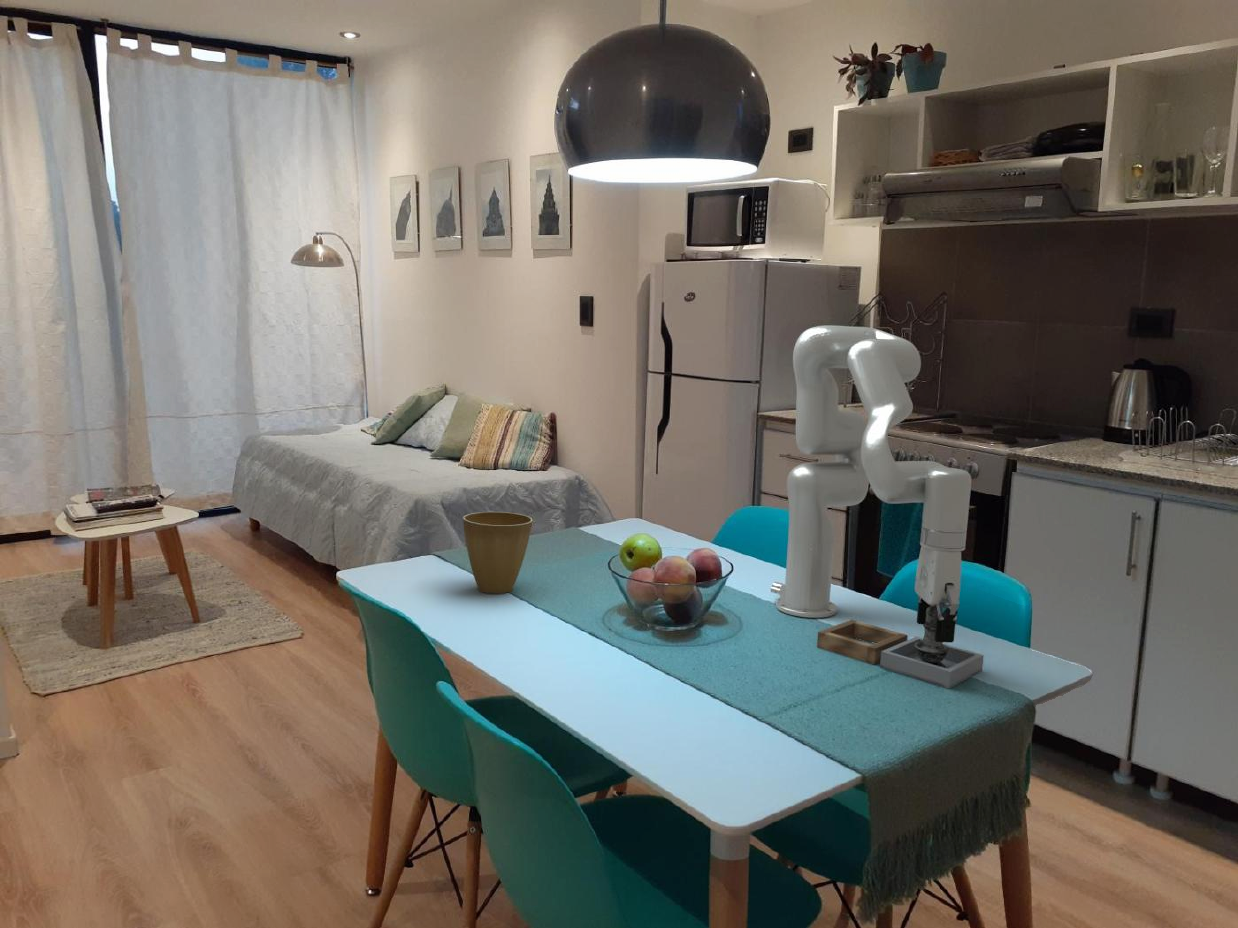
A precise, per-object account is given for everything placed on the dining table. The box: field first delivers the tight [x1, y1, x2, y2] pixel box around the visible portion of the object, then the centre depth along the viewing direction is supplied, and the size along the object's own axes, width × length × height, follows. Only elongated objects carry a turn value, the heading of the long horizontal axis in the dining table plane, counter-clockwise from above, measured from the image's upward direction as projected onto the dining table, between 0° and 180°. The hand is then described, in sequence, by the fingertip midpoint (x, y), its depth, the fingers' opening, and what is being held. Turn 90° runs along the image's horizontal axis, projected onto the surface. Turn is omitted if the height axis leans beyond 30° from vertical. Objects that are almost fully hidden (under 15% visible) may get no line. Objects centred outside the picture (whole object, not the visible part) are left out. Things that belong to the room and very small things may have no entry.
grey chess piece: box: [915, 604, 949, 668], centre depth 174 cm, size 6×6×12 cm
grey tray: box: [879, 636, 985, 689], centre depth 174 cm, size 13×13×3 cm
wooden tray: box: [816, 619, 909, 665], centre depth 184 cm, size 12×12×3 cm
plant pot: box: [462, 511, 533, 595], centre depth 212 cm, size 15×15×16 cm
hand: (934, 632), depth 173 cm, fingers open, 9 cm apart
